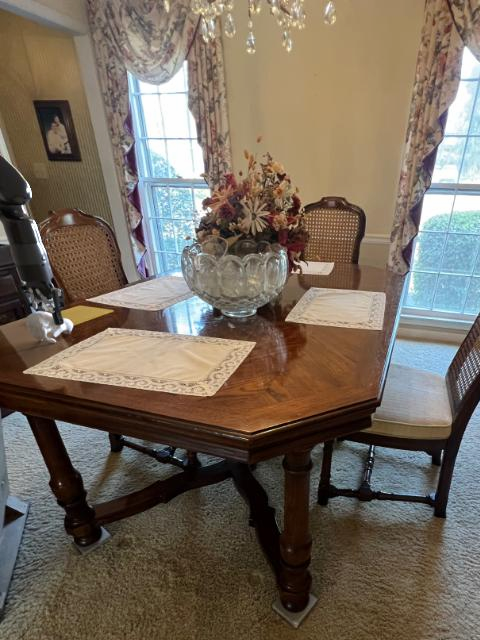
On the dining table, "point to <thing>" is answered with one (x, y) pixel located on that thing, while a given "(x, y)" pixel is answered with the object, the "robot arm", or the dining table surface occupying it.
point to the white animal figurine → (46, 326)
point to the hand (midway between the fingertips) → (52, 323)
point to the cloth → (83, 314)
